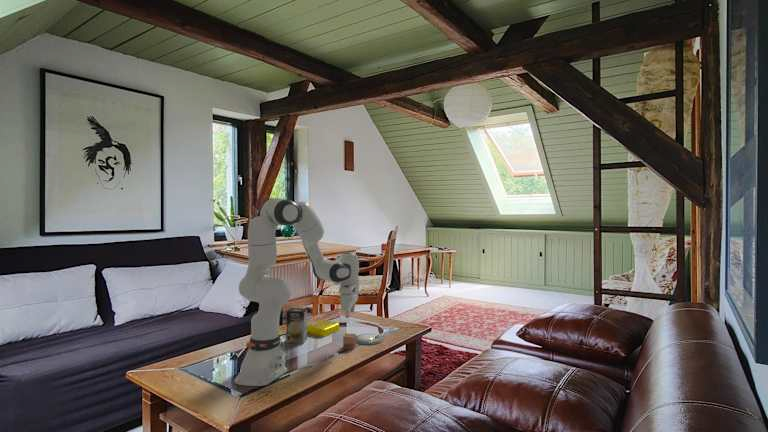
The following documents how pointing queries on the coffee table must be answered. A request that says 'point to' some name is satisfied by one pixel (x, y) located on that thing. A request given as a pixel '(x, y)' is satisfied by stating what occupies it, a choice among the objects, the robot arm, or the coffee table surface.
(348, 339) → the block
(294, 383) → the coffee table surface
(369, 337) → the dish
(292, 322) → the coffee box
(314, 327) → the element tile
